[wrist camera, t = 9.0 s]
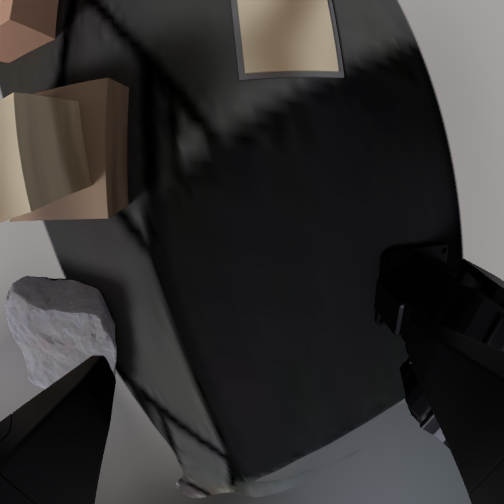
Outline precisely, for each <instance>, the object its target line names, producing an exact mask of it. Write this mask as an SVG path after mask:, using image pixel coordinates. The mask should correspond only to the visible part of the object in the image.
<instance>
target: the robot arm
mask: <svg viewBox="0 0 504 504" xmlns="http://www.w3.org/2000/svg"><path fill="white" fill-rule="evenodd" d="M443 248H444V249H443ZM442 249H443V251H442ZM388 255H389V258H388V259H387V260H386V257H387V256H388ZM447 257H448V246H447V245H446V244H444V243H439V244H431V245H424V246H416V247H408V248H401V249H393V250H386V251H384V252H383V253H382V254H381V259H380V273H379V278H378V280H377V285H376V296H375V305H374V308H375V309H376V312H375V322H376V323H377V325H379V326H381V325H386V324H387V325H388V327H389V328H390V329H391V331H392V332H393V334H394V335H395V336H397V337H399V336H401V337H402V338H403V340H404V341H405V342H406V343H405V347H406V351H407V353H408V356H409V358H408V359H407V361H406V362H404V363H403V364H402V366H401V367H400V372H401V376H402V381H403V385H404V390H405V395H406V396H405V400H406V403H407V405H408V408H409V410H410V412H411V415H412V416H413V417H414V418H415V419H416V420H417V421H418V422H419V423H420V427H421V428H422V429H424V430H426V431H428V432H429V433H431V434H433V435H434V436H436V437H437V438H438V439H439V440H441V441H442V442H444V444H445V445H446V446H447V447H448V448H449V449H450V450H451V453H452V455H453V457H454V460H455V462H456V464H457V467H458V469H459V471H460V474H461V477H462V479H463V481H464V484H465V487H466V489H467V492H468V494H469V498H470V500H471V503H472V504H504V281H502V280H501V279H499V278H498V277H496V276H495V275H493V274H491V273H489V272H487V271H486V270H484V269H482V268H480V267H478V266H476V265H474V264H472V263H471V262H469V261H467V260H465V259H463V260H462V262H461V264H460V269H459V271H458V272H457V271H456V270H454V269H453V268H451V267H450V266H449V265H447ZM381 318H382V319H381ZM380 319H381V320H380ZM379 320H380V321H379ZM115 384H116V380H115V375H114V373H113V371H112V369H111V367H110V365H109V362H108V360H107V358H106V357H105V356H103V355H93V356H91V357H89V358H88V359H86V360H85V361H84V362H82V363H81V364H80V365H78V366H77V367H75V368H74V369H73V370H71V371H70V372H68V373H67V374H66V375H64V376H63V377H61V378H60V379H59V380H57V381H56V382H54V383H53V384H52V385H50V386H49V387H48V388H46V389H45V390H43V391H42V392H41V393H39V394H38V395H37V396H35V397H34V398H32V399H31V400H30V401H28V402H27V403H25V404H24V405H23V406H21V407H20V408H19V409H17V410H16V411H15V412H13V414H10V415H9V416H8V417H6V418H5V419H3V420H2V421H1V422H0V504H94V503H95V497H96V491H97V485H98V480H99V474H100V469H101V463H102V459H103V454H104V449H105V445H106V440H107V436H108V431H109V426H110V420H111V413H112V405H113V397H114V391H115Z"/></svg>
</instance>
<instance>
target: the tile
mask: <svg viewBox="0 0 504 504" xmlns="http://www.w3.org/2000/svg"><path fill="white" fill-rule="evenodd" d="M231 7H232V16H233V25H234V35H235V44H236V54H237V63H238V73H239V81H241V80H253V79H268V78H295V77H324V78H344V72H343V64H342V57H341V50H340V44H339V38H338V32H337V26H336V20H335V15H334V10H333V5H332V0H231Z"/></svg>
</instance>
